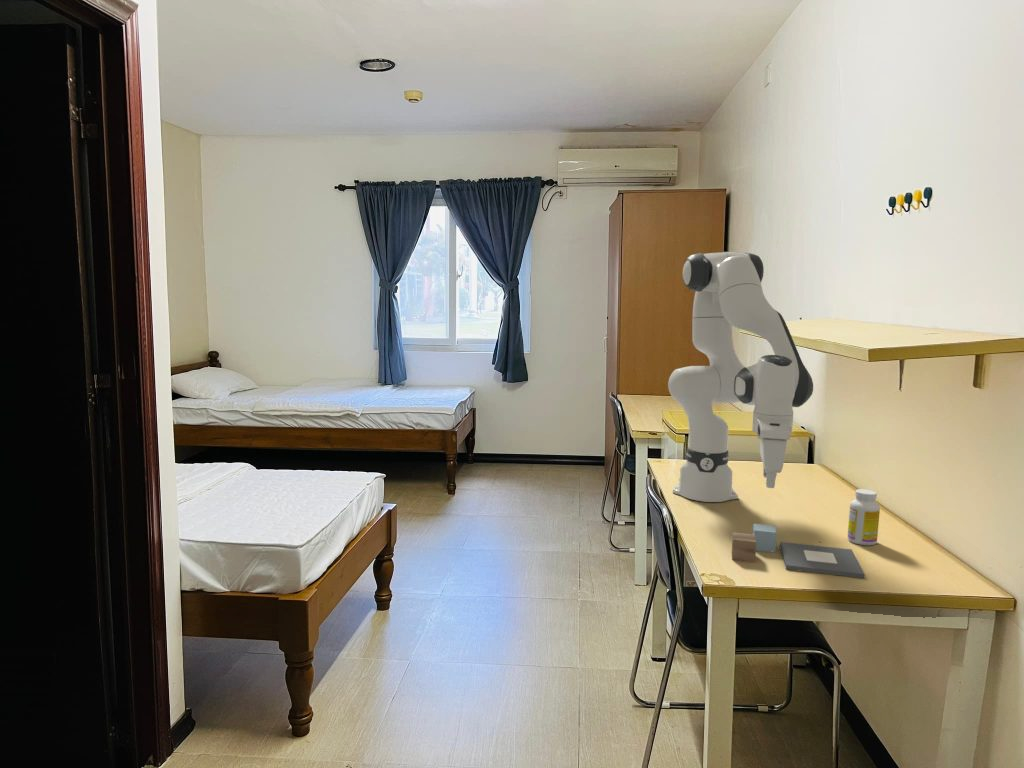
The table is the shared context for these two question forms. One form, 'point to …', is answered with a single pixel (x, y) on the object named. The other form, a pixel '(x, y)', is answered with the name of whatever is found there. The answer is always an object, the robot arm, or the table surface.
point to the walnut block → (743, 547)
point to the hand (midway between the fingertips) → (768, 482)
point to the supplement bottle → (864, 518)
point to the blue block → (765, 537)
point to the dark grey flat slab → (821, 559)
